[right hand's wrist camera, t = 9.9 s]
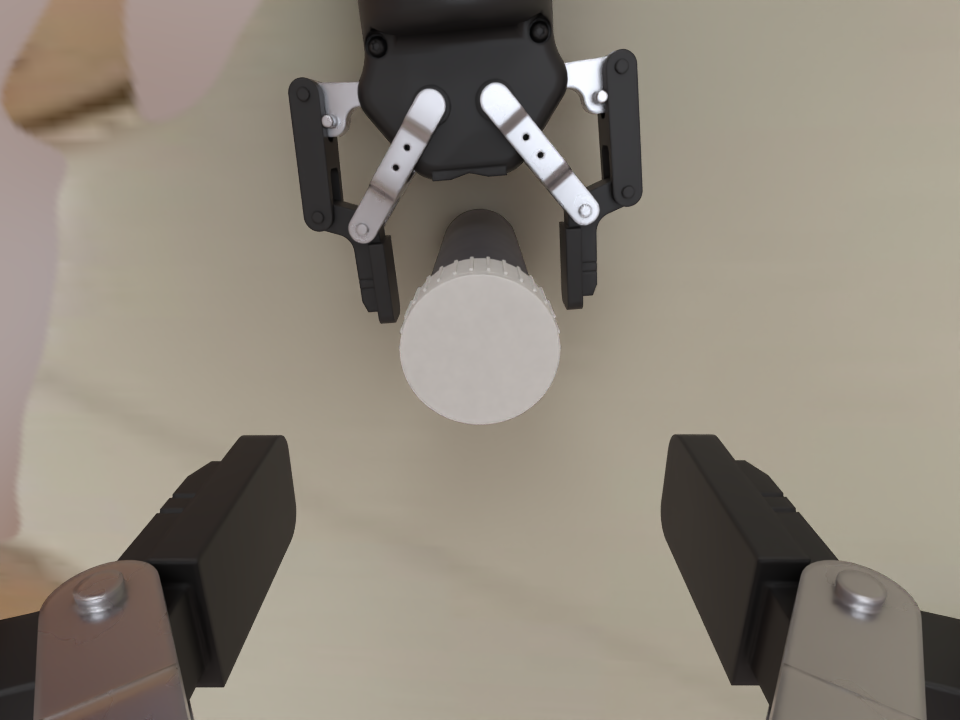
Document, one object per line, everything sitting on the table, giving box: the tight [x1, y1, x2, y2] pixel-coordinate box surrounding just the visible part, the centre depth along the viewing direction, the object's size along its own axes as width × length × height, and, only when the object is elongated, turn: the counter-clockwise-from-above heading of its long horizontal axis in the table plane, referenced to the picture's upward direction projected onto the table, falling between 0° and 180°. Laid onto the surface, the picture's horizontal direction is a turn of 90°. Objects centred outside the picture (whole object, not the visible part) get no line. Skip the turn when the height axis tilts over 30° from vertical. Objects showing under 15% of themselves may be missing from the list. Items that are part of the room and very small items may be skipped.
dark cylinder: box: [431, 209, 529, 276], centre depth 26 cm, size 4×4×16 cm
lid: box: [399, 257, 561, 425], centre depth 19 cm, size 5×5×2 cm
